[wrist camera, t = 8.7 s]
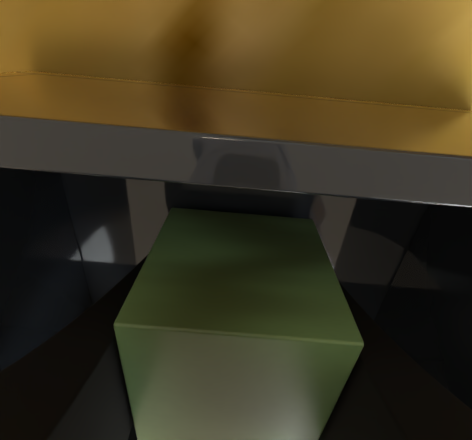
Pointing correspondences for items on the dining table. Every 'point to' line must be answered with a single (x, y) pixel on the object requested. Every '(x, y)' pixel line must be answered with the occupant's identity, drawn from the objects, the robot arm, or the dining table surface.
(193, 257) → the cube
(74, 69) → the dining table surface
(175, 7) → the dining table surface
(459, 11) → the dining table surface
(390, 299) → the black storage bin
